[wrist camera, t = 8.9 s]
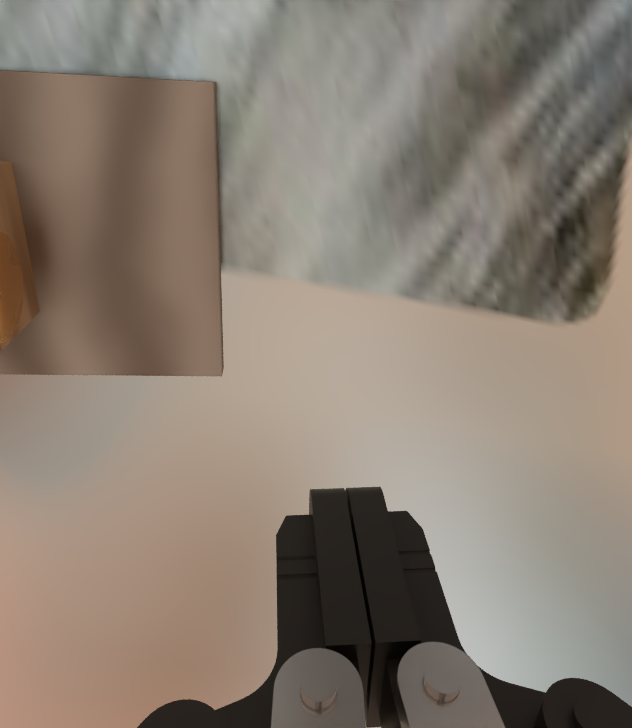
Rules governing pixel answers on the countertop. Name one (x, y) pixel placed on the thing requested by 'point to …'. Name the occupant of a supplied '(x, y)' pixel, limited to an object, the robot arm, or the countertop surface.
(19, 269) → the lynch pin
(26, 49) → the countertop surface
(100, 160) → the hitch post
